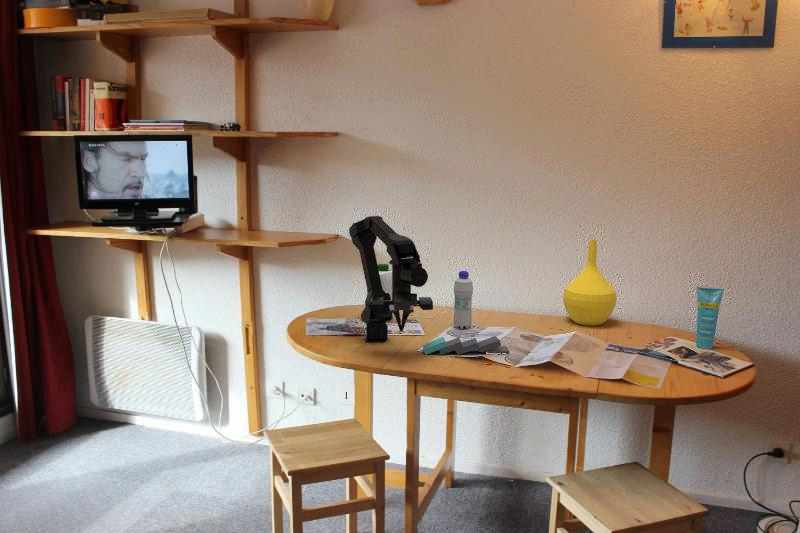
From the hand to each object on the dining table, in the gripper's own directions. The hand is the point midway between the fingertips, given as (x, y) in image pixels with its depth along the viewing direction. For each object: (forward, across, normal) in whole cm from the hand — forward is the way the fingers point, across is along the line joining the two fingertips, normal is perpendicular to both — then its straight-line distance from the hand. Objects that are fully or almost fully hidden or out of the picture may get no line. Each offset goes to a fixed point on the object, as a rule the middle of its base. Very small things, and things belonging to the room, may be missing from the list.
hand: (401, 331), depth 205 cm
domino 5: (+7, +26, 0) cm, 27 cm away
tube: (+7, +96, +4) cm, 97 cm away
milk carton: (+7, -6, +38) cm, 39 cm away
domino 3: (+6, +17, 0) cm, 18 cm away
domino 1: (+6, +7, 0) cm, 9 cm away
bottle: (+7, +22, +28) cm, 37 cm away
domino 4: (+6, +23, 0) cm, 24 cm away
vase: (+7, +68, +34) cm, 77 cm away
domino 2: (+6, +12, 0) cm, 13 cm away
